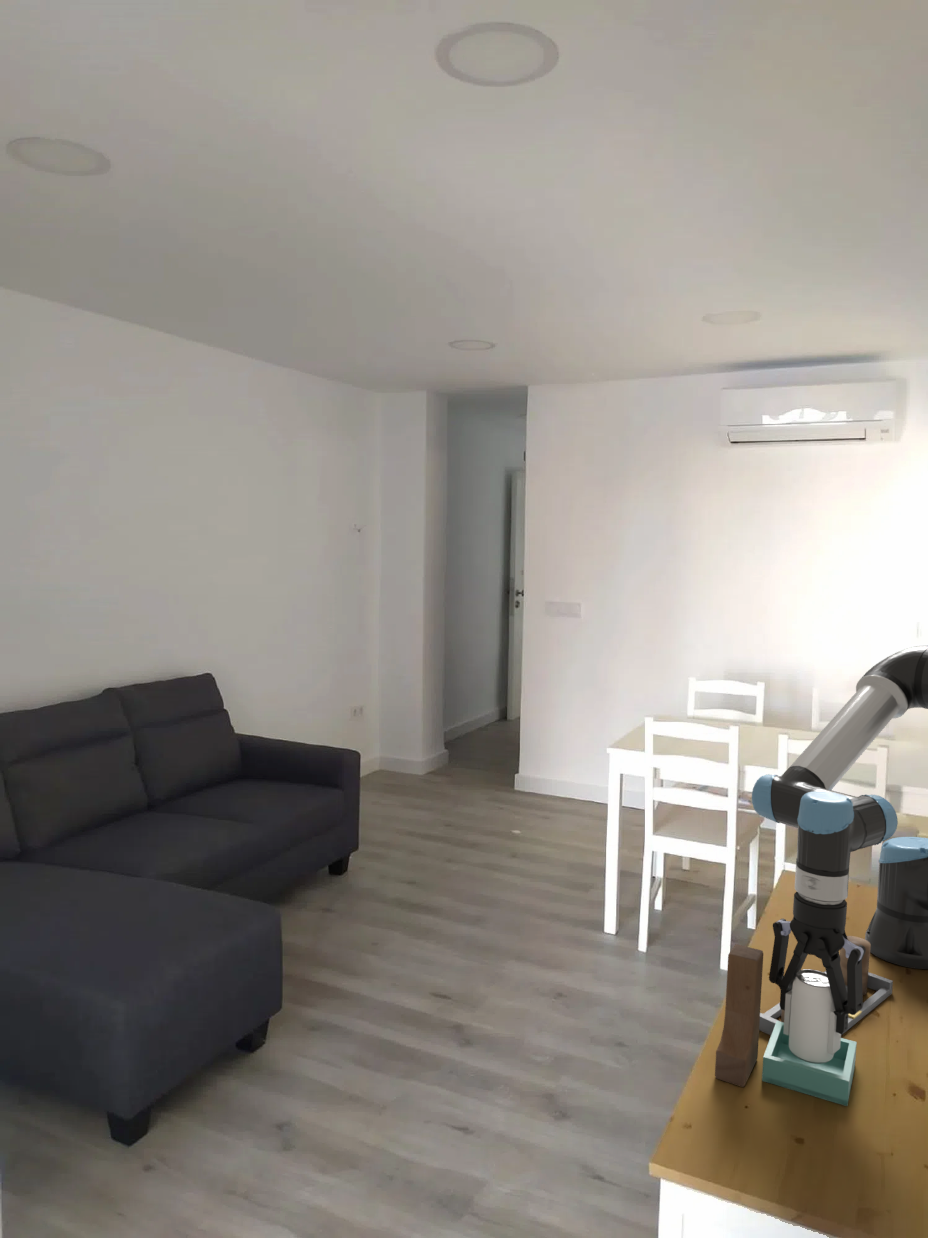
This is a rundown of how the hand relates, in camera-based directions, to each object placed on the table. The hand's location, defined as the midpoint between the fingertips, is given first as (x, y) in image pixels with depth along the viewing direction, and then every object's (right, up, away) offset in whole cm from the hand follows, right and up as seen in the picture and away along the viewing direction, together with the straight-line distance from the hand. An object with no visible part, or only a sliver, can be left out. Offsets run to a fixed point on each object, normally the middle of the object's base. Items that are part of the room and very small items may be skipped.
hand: (811, 1040), depth 137 cm
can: (0, -2, 0) cm, 2 cm away
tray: (0, -5, 0) cm, 5 cm away
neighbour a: (+18, -3, +27) cm, 33 cm away
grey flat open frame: (+10, -4, +20) cm, 22 cm away
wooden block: (-11, -5, +1) cm, 12 cm away
